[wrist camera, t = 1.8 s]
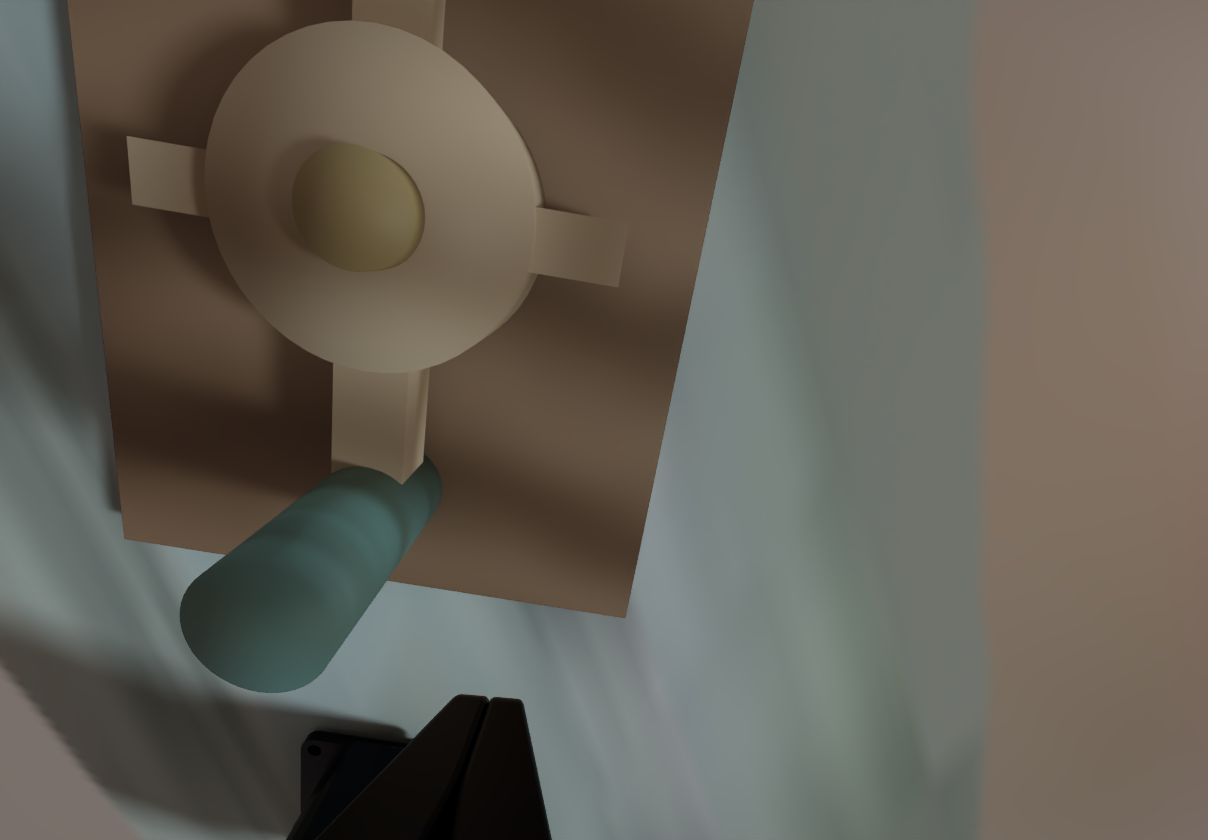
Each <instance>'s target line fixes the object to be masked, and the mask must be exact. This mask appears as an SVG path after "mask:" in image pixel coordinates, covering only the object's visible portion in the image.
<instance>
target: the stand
mask: <svg viewBox="0 0 1208 840" xmlns="http://www.w3.org/2000/svg"><path fill="white" fill-rule="evenodd" d="M753 2H754V0H446V3H445V18H444V33H443V48H442V50H443V51H444V52H446V53H447V54H448V55H449V56H451V57H452V58H453V59H455V60H456V61H457V62H458V63H460V64H461V65H462V66H463V67H464V68H465V69H466V70H467V71H468V72H469V73H470V74H471V75H472V76H473V77H474V78H475V79H476V80H477V81H478V82H479V83H480V84H481V85H482V86H483V87H484V88H485V89H486V90H487V92H488V93H489V94H490V95H491V96H492V98H493V99H494V100H495V101H496V102H497V103H498V105H499V106H500V107H501V108H502V109H503V110H504V112H505V113H506V114H507V115H508V117H509V118H510V119H511V121H512V122H513V123H514V124H515V126H516V127H517V128H518V130H519V132H520V133H521V135H522V137H523V138H524V140H525V141H526V143H527V145H528V147H529V149H530V151H531V153H532V156H533V158H534V160H535V162H536V165H537V168H538V171H539V174H540V177H541V181H542V184H543V189H544V195H545V200H546V209H551V210H557V211H562V212H568V213H574V214H580V215H585V216H591V217H597V218H603V219H608V220H614V221H620V222H626V223H629V226H628V232H627V238H626V244H625V250H624V256H623V262H622V268H621V274H620V280H619V286H618V287H612V286H607V285H601V284H595V283H589V282H583V281H577V280H571V279H566V278H560V277H554V276H548V275H542V274H538V275H537V278H536V280H535V282H534V284H533V286H532V288H531V290H530V292H529V294H528V295H527V297H526V298H525V300H524V301H523V303H522V304H521V306H520V307H519V308H518V310H517V311H516V312H515V313H514V314H513V315H512V316H511V318H510V319H509V320H508V321H507V322H505V323H504V324H503V325H502V326H501V327H500V328H499V329H497V330H496V331H495V332H493V333H492V334H490V335H489V336H487V337H486V338H484V339H483V340H481V341H480V342H478V343H477V344H475V345H474V346H472V347H471V348H469V349H467V350H466V351H464V352H463V353H461V354H460V355H458V356H456V357H454V358H452V359H450V360H448V361H446V362H443V363H441V364H439V365H435V366H432V367H430V372H429V386H428V400H427V414H426V427H425V441H424V454H425V455H426V456H427V457H428V458H429V459H430V460H431V461H432V462H433V464H434V465H435V467H436V469H437V470H438V473H439V475H440V478H441V482H442V497H441V501H440V504H439V506H438V508H437V510H436V511H435V513H434V514H433V515H432V517H431V518H430V520H429V521H428V523H427V524H426V525H425V527H424V528H423V530H422V531H421V533H420V534H419V535H418V537H417V538H416V540H415V541H414V543H413V544H412V545H411V547H410V548H409V550H408V551H407V552H406V554H405V555H404V557H403V558H402V560H401V561H400V562H399V564H398V565H397V567H396V568H395V570H394V571H393V572H392V574H391V575H390V577H389V578H388V580H387V581H394V582H400V583H406V584H413V585H419V586H425V587H432V588H438V589H444V590H451V591H457V592H463V593H469V594H476V595H482V596H488V597H495V598H501V599H507V600H514V601H520V602H526V603H533V604H539V605H545V606H552V607H558V608H564V609H571V610H577V611H583V612H589V613H596V614H602V615H608V616H615V617H621V618H625V617H626V613H627V608H628V603H629V598H630V593H631V589H632V584H633V579H634V574H635V569H636V565H637V560H638V555H639V550H640V545H641V541H642V536H643V531H644V526H645V521H646V516H647V512H648V507H649V502H650V497H651V492H652V488H653V483H654V478H655V473H656V468H657V464H658V459H659V454H660V449H661V444H662V440H663V435H664V430H665V425H666V420H667V416H668V411H669V406H670V401H671V396H672V391H673V387H674V382H675V377H676V372H677V367H678V363H679V358H680V353H681V348H682V343H683V339H684V334H685V329H686V324H687V319H688V315H689V310H690V305H691V300H692V295H693V291H694V286H695V281H696V276H697V271H698V266H699V262H700V257H701V252H702V247H703V242H704V238H705V233H706V228H707V223H708V218H709V214H710V209H711V204H712V199H713V194H714V190H715V185H716V180H717V175H718V170H719V166H720V161H721V156H722V151H723V146H724V141H725V137H726V132H727V127H728V122H729V117H730V113H731V108H732V103H733V98H734V93H735V89H736V84H737V79H738V74H739V69H740V65H741V60H742V55H743V50H744V45H745V41H746V36H747V31H748V26H749V21H750V16H751V12H752V7H753ZM67 3H68V13H69V22H70V32H71V41H72V50H73V60H74V69H75V79H76V88H77V98H78V107H79V116H80V126H81V135H82V145H83V154H84V164H85V173H86V182H87V192H88V201H89V211H90V220H91V229H92V239H93V248H94V258H95V267H96V277H97V286H98V295H99V305H100V314H101V324H102V333H103V343H104V352H105V361H106V371H107V380H108V390H109V399H110V409H111V418H112V427H113V437H114V446H115V456H116V465H117V474H118V484H119V493H120V503H121V512H122V522H123V531H124V539H128V540H135V541H141V542H147V543H154V544H160V545H166V546H173V547H179V548H185V549H192V550H198V551H204V552H210V553H217V554H223V555H227V554H228V553H229V552H231V551H232V550H233V549H234V548H236V547H237V546H238V545H240V544H241V543H242V542H243V541H245V540H246V539H247V538H249V537H250V536H251V535H252V534H254V533H255V532H256V531H258V530H259V529H260V528H261V527H263V526H264V525H265V524H267V523H268V522H269V521H270V520H272V519H273V518H274V517H276V516H277V515H278V514H279V513H281V512H282V511H283V510H285V509H286V508H287V507H288V506H290V505H291V504H292V503H294V502H295V501H296V500H297V499H299V498H300V497H301V496H303V495H304V494H305V493H306V492H308V491H309V490H310V489H312V488H313V487H314V486H315V485H317V484H318V483H319V482H321V481H322V480H323V479H324V478H326V477H327V476H328V475H330V474H331V456H332V403H333V363H332V362H329V361H327V360H324V359H322V358H320V357H318V356H316V355H314V354H312V353H310V352H308V351H306V350H304V349H303V348H301V347H300V346H298V345H297V344H295V343H294V342H292V341H291V340H289V339H288V338H286V337H285V336H284V335H283V334H282V333H280V332H279V331H278V330H277V329H276V328H274V327H273V326H272V325H271V324H270V323H269V322H268V321H267V320H266V319H265V318H264V317H263V316H262V315H261V314H260V313H259V312H258V311H257V310H256V309H255V308H254V306H253V305H252V304H251V302H250V301H249V300H248V299H247V297H246V296H245V295H244V294H243V292H242V291H241V289H240V288H239V286H238V284H237V283H236V281H235V280H234V278H233V276H232V275H231V273H230V272H229V269H228V267H227V265H226V263H225V261H224V259H223V257H222V255H221V253H220V251H219V248H218V245H217V242H216V239H215V236H214V233H213V231H212V227H211V222H210V218H209V217H203V216H197V215H191V214H186V213H180V212H174V211H168V210H162V209H156V208H150V207H145V206H139V205H133V204H132V194H131V182H130V170H129V159H128V147H127V136H130V137H136V138H142V139H148V140H153V141H159V142H165V143H171V144H176V145H182V146H188V147H194V148H199V149H205V150H206V149H207V142H208V137H209V133H210V130H211V126H212V123H213V119H214V116H215V114H216V111H217V109H218V107H219V104H220V102H221V100H222V98H223V95H224V94H225V92H226V91H227V89H228V88H229V86H230V84H231V83H232V81H233V80H234V78H235V77H236V75H237V74H238V73H239V72H240V71H241V70H242V68H243V67H244V66H245V65H246V64H247V63H248V62H249V60H251V59H252V58H253V57H254V56H255V55H256V54H258V53H259V52H260V51H261V50H262V49H264V48H265V47H266V46H267V45H269V44H271V43H272V42H274V41H276V40H278V39H279V38H281V37H283V36H284V35H286V34H289V33H291V32H294V31H296V30H299V29H301V28H304V27H307V26H311V25H316V24H320V23H325V22H331V21H351V20H352V0H67Z"/></svg>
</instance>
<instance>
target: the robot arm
mask: <svg viewBox="0 0 1208 840" xmlns="http://www.w3.org/2000/svg"><path fill="white" fill-rule="evenodd" d="M286 840H552V839H551V834H550V829H549V824H548V819H547V814H546V810H545V805H544V800H543V795H542V790H541V786H540V781H539V776H538V771H537V766H536V762H535V757H534V752H533V747H532V742H531V738H530V733H529V728H528V723H527V718H526V714H525V709H524V704H523V702H522V701H521V700H520V699H513V698H501V697H494V698H492V699H491V700H490V701H489V699H488V698H487V697H485V696H477V695H465V694H460V695H457V696H455V697H454V698H453V699H452V700H451V701H450V702H449V703H448V704H447V705H446V706H445V707H444V708H443V709H442V710H441V711H440V712H439V713H438V714H437V715H436V716H435V717H434V718H433V719H432V720H431V721H430V722H429V723H428V724H427V725H426V726H425V727H424V728H423V729H422V730H421V731H420V732H419V733H418V734H417V735H416V737H415V738H414V739H413V740H412V741H411V742H410V743H409V744H401V743H395V742H388V741H382V740H375V739H368V738H362V737H355V736H349V735H342V734H336V733H329V732H322V731H314V732H311V733H310V734H309V735H308V736H307V738H306V739H305V741H304V742H303V744H302V747H301V814H300V816H299V817H298V819H297V821H296V823H295V824H294V826H293V828H292V830H291V831H290V833H289V835H288V837H287V839H286Z"/></svg>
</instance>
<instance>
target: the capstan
mask: <svg viewBox="0 0 1208 840" xmlns="http://www.w3.org/2000/svg"><path fill="white" fill-rule="evenodd" d="M445 3H446V0H352V20H351V21H331V22H325V23H320V24H316V25H311V26H307V27H304V28H301V29H299V30H296V31H294V32H291V33H289V34H286V35H284V36H283V37H281V38H279V39H278V40H276V41H274V42H272V43H271V44H269V45H267V46H266V47H265V48H264V49H262V50H261V51H260V52H259V53H258V54H256V55H255V56H254V57H253V58H252V59H251V60H249V62H248V63H247V64H246V65H245V66H244V67H243V68H242V70H241V71H240V72H239V73H238V74H237V75H236V77H235V78H234V80H233V81H232V83H231V84H230V86H229V88H228V89H227V91H226V92H225V94H224V95H223V98H222V100H221V102H220V104H219V107H218V109H217V111H216V114H215V116H214V119H213V123H212V126H211V130H210V133H209V137H208V142H207V149H206V150H205V149H199V148H194V147H188V146H182V145H176V144H171V143H165V142H159V141H153V140H148V139H142V138H136V137H130V136H127V147H128V159H129V170H130V182H131V194H132V204H133V205H139V206H145V207H150V208H156V209H162V210H168V211H174V212H180V213H186V214H191V215H197V216H203V217H209V218H210V222H211V227H212V231H213V233H214V236H215V239H216V242H217V245H218V248H219V251H220V253H221V255H222V257H223V259H224V261H225V263H226V265H227V267H228V269H229V272H230V273H231V275H232V276H233V278H234V280H235V281H236V283H237V284H238V286H239V288H240V289H241V291H242V292H243V294H244V295H245V296H246V297H247V299H248V300H249V301H250V302H251V304H252V305H253V306H254V308H255V309H256V310H257V311H258V312H259V313H260V314H261V315H262V316H263V317H264V318H265V319H266V320H267V321H268V322H269V323H270V324H271V325H272V326H273V327H274V328H276V329H277V330H278V331H279V332H280V333H282V334H283V335H284V336H285V337H286V338H288V339H289V340H291V341H292V342H294V343H295V344H297V345H298V346H300V347H301V348H303V349H304V350H306V351H308V352H310V353H312V354H314V355H316V356H318V357H320V358H322V359H324V360H327V361H329V362H332V363H333V403H332V456H331V474H330V475H328V476H327V477H326V478H324V479H323V480H322V481H321V482H319V483H318V484H317V485H315V486H314V487H313V488H312V489H310V490H309V491H308V492H306V493H305V494H304V495H303V496H301V497H300V498H299V499H297V500H296V501H295V502H294V503H292V504H291V505H290V506H288V507H287V508H286V509H285V510H283V511H282V512H281V513H279V514H278V515H277V516H276V517H274V518H273V519H272V520H270V521H269V522H268V523H267V524H265V525H264V526H263V527H261V528H260V529H259V530H258V531H256V532H255V533H254V534H252V535H251V536H250V537H249V538H247V539H246V540H245V541H243V542H242V543H241V544H240V545H238V546H237V547H236V548H234V549H233V550H232V551H231V552H229V553H228V554H227V555H225V556H224V557H223V558H222V559H220V560H219V561H218V562H217V563H215V564H214V565H213V566H211V567H210V568H209V569H208V570H206V571H205V572H204V573H202V574H201V575H200V576H199V577H197V578H196V579H195V580H194V581H193V582H192V583H191V585H190V586H189V587H188V588H187V590H186V592H185V594H184V596H183V599H182V602H181V607H180V623H181V628H182V632H183V635H184V637H185V640H186V642H187V644H188V646H189V647H190V649H191V650H192V652H193V653H194V655H195V656H196V657H197V658H198V660H199V661H200V662H201V663H202V664H203V665H204V666H205V667H207V668H208V669H209V670H210V671H211V672H213V673H214V674H216V675H217V676H219V677H220V678H222V679H223V680H225V681H227V682H229V683H231V684H233V685H236V686H238V687H241V688H244V689H248V690H252V691H257V692H265V693H280V692H287V691H292V690H296V689H298V688H301V687H303V686H305V685H307V684H309V683H311V682H312V681H313V680H315V679H316V678H317V677H318V676H319V675H320V674H321V673H322V672H323V671H324V669H325V668H326V666H327V665H328V663H329V662H330V661H331V659H332V658H333V656H334V655H335V653H336V652H337V651H338V649H339V648H340V646H341V645H342V644H343V642H344V641H345V639H346V638H347V636H348V635H349V634H350V632H351V631H352V629H353V628H354V626H355V625H356V624H357V622H358V621H359V619H360V618H361V617H362V615H363V614H364V612H365V611H366V609H367V608H368V607H369V605H370V604H371V602H372V601H373V599H374V598H375V597H376V595H377V594H378V592H379V591H380V589H381V588H382V587H383V585H384V584H385V582H386V581H387V580H388V578H389V577H390V575H391V574H392V572H393V571H394V570H395V568H396V567H397V565H398V564H399V562H400V561H401V560H402V558H403V557H404V555H405V554H406V552H407V551H408V550H409V548H410V547H411V545H412V544H413V543H414V541H415V540H416V538H417V537H418V535H419V534H420V533H421V531H422V530H423V528H424V527H425V525H426V524H427V523H428V521H429V520H430V518H431V517H432V515H433V514H434V513H435V511H436V510H437V508H438V506H439V504H440V501H441V497H442V482H441V478H440V475H439V473H438V470H437V469H436V467H435V465H434V464H433V462H432V461H431V460H430V459H429V458H428V457H427V456H426V455H425V454H424V441H425V427H426V414H427V400H428V386H429V372H430V367H432V366H435V365H439V364H441V363H443V362H446V361H448V360H450V359H452V358H454V357H456V356H458V355H460V354H461V353H463V352H464V351H466V350H467V349H469V348H471V347H472V346H474V345H475V344H477V343H478V342H480V341H481V340H483V339H484V338H486V337H487V336H489V335H490V334H492V333H493V332H495V331H496V330H497V329H499V328H500V327H501V326H502V325H503V324H504V323H505V322H507V321H508V320H509V319H510V318H511V316H512V315H513V314H514V313H515V312H516V311H517V310H518V308H519V307H520V306H521V304H522V303H523V301H524V300H525V298H526V297H527V295H528V294H529V292H530V290H531V288H532V286H533V284H534V282H535V280H536V278H537V275H538V274H542V275H548V276H554V277H560V278H566V279H571V280H577V281H583V282H589V283H595V284H601V285H607V286H612V287H618V286H619V280H620V274H621V268H622V262H623V256H624V250H625V244H626V238H627V232H628V226H629V223H626V222H620V221H614V220H608V219H603V218H597V217H591V216H585V215H580V214H574V213H568V212H562V211H557V210H551V209H546V200H545V195H544V189H543V184H542V181H541V177H540V174H539V171H538V168H537V165H536V162H535V160H534V158H533V156H532V153H531V151H530V149H529V147H528V145H527V143H526V141H525V140H524V138H523V137H522V135H521V133H520V132H519V130H518V128H517V127H516V126H515V124H514V123H513V122H512V121H511V119H510V118H509V117H508V115H507V114H506V113H505V112H504V110H503V109H502V108H501V107H500V106H499V105H498V103H497V102H496V101H495V100H494V99H493V98H492V96H491V95H490V94H489V93H488V92H487V90H486V89H485V88H484V87H483V86H482V85H481V84H480V83H479V82H478V81H477V80H476V79H475V78H474V77H473V76H472V75H471V74H470V73H469V72H468V71H467V70H466V69H465V68H464V67H463V66H462V65H461V64H460V63H458V62H457V61H456V60H455V59H453V58H452V57H451V56H449V55H448V54H447V53H446V52H444V51H443V50H442V48H443V33H444V18H445Z"/></svg>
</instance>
